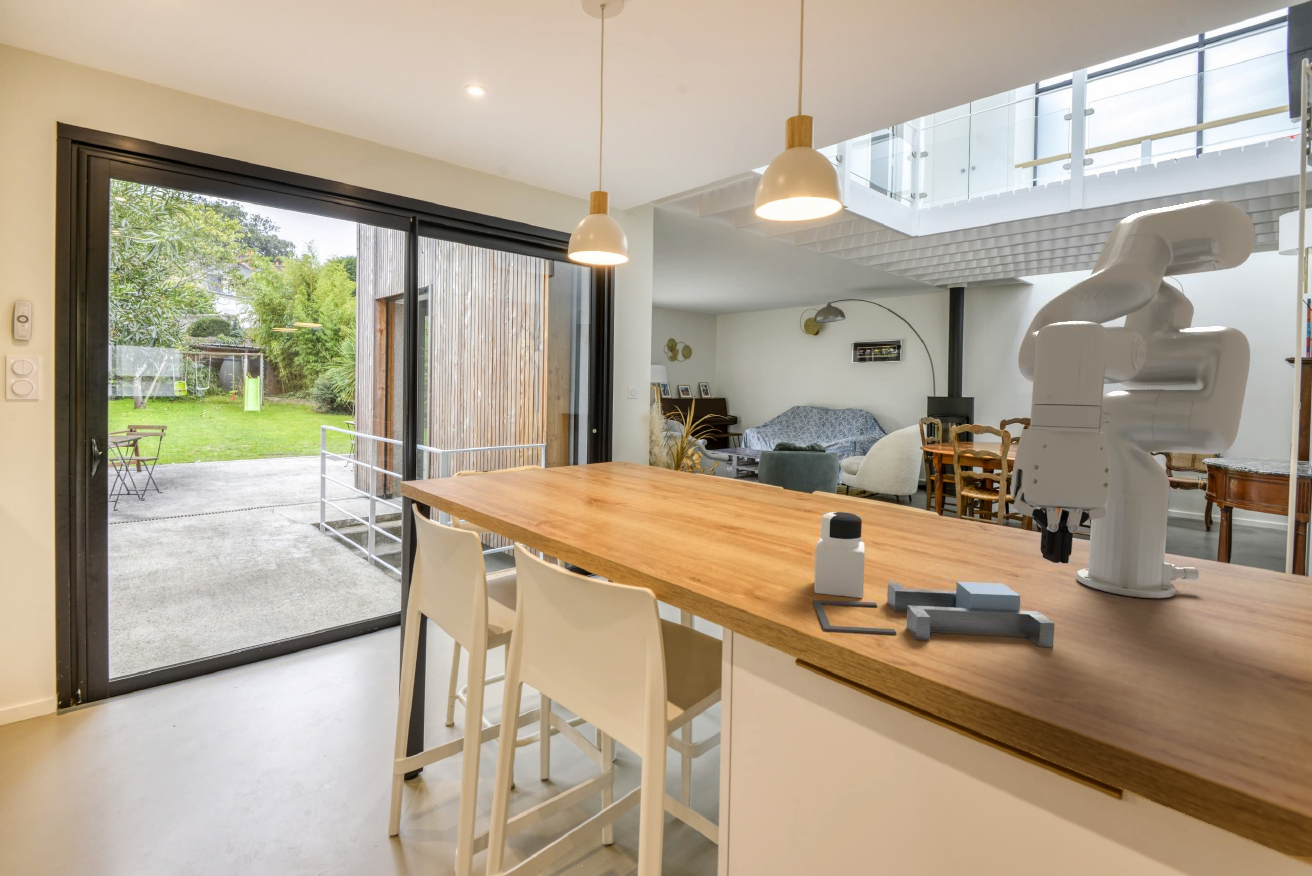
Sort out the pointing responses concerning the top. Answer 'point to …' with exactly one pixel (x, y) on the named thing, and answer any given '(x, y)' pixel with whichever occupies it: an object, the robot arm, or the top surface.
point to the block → (986, 596)
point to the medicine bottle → (840, 556)
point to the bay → (827, 626)
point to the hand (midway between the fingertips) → (1055, 560)
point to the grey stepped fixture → (964, 617)
